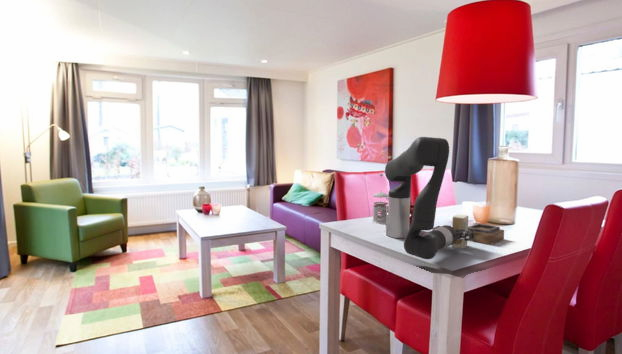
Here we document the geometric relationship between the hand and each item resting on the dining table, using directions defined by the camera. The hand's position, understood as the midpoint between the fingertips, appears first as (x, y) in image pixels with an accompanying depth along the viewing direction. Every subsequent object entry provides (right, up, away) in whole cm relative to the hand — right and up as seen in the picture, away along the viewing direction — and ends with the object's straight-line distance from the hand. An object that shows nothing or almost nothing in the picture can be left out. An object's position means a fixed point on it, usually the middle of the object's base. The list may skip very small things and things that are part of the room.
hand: (460, 229), depth 148 cm
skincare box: (0, -7, 0) cm, 7 cm away
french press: (-22, -3, +48) cm, 53 cm away
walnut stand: (+14, -6, +11) cm, 19 cm away
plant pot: (-13, -5, +26) cm, 30 cm away
